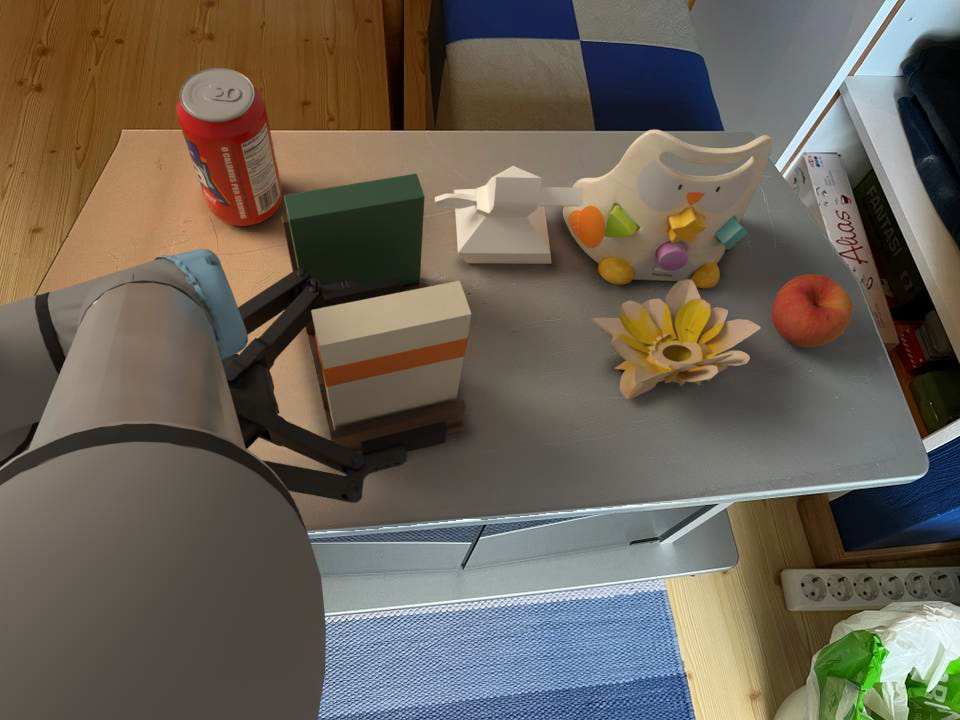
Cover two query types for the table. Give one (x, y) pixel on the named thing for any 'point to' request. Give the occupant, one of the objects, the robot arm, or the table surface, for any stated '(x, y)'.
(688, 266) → the shape sorter
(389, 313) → the book
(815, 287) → the apple
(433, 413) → the book rack
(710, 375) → the decorative flower
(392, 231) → the green book
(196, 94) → the soda can
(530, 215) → the white angular piece
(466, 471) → the table surface
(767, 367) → the table surface
